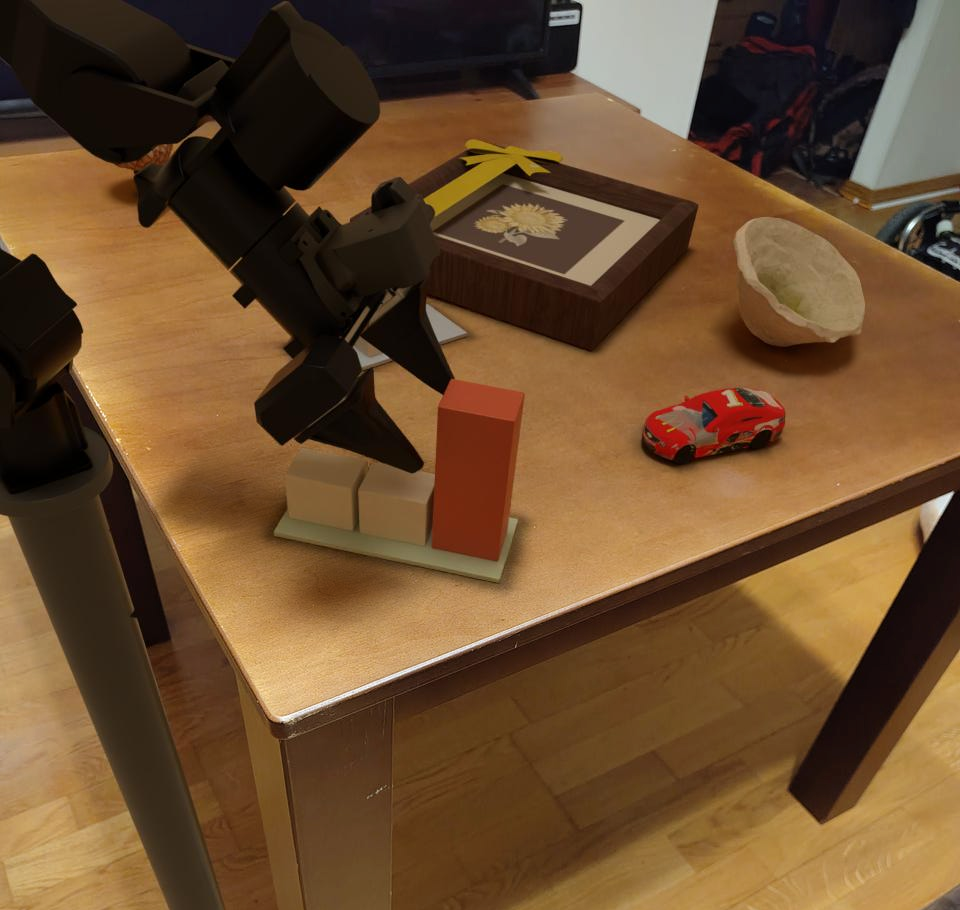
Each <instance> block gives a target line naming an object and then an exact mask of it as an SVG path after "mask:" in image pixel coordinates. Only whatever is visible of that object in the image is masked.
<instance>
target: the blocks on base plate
mask: <svg viewBox="0 0 960 910" xmlns="http://www.w3.org/2000/svg"><path fill="white" fill-rule="evenodd" d="M426 312H427V315H428V318H429V320H430V323H431V325H432V328H433V330H434V333H435V335H436V337H437V340H438V342H439V344H440V346H441V345H444V344H447V343H451V342H453V341H456V340H460V339H463V338H465V337H468V332H467V331H466V330H464V329H463V328H462V327H460V326H459V325H458V324H456V323H454V322H453V321H452V320H450V319H449V318H448V317H446V316H445V315H443V314H442V313H441V312H439V311H438V310H437V309H435V308H433V306H432V305H430V304H428V303H427V302H426ZM340 338H341V337H340ZM353 349H354V350H355V351H356V352H357V354H358V357H359V361H360V364H361V367H362V371H361V372H363V371H367V370H368V369H369V368H371V367H372V368H376V367H378V366H381V365H384V364H387V363H390V362H394V361H393V360H392V359H390V358H389V357H388V356H386V355H385V354H383V353H382V352H380V351H379V350H378V349H376V348H375V347H374V346H372V345H371V344H369V343H368V342H367V341H365V340H364V339H363V338H361V337H359V338H358V340H357V341H356V343H355V345H354V346H353Z"/></svg>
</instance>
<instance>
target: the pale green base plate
mask: <svg viewBox="0 0 960 910" xmlns="http://www.w3.org/2000/svg"><path fill="white" fill-rule="evenodd" d="M283 475H284V486H285V495H286V503H287V509H285V510H286V511H285V512H284V514H283V516H282V517H281V518H280V520H279V522H278V524H277V526H276V527H275V529H274V531H273V537H278V538H283V539H287V540H293V541H298V542H302V543H306V544H311V545H317V546H321V547H325V548H330V549H336V550H340V551H345V552H350V553H354V554H359V555H363V556H369V557H372V558H373V557H374V558H378V559H382V560H387V561H392V562H397V563H402V564H407V565H410V566H411V565H412V566H415V567H421V568H426V569H431V570H435V571H439V572H445V573H449V574H455V575H460V576H463V577H468V578H473V579H479V580H483V581H488V582H492V583H496V584H497V583H498V584H499V583H501V578H502V575H503V573H504V569H505V567H506V563H507V559H508V557H509V552H510V549H511V547H512V542H513V539H514V537H515V534H516V531H517V527H518V524H519V518H515V517H511V516H509V522H508V530H507V534H506V537H505V541H504V544H503V547H502V550H501V553H500V556H499V560H498V561H492V560H487V559H482V558H478V557H473V556H468V555H463V554H458V553H454V552H449V551H444V550H439V549H434V548H432V527H433V505H434V482H435V473H432V472H425V471H421V470H419V471H417V472H416V473H408V472H406V471H403V470H400V469H398V468H395V467H392V466H390V465H387V464H384V463H382V462H377V461H372V463H371V465H370V467H369V469H368V471H367V461H366V460H365V459H360V458H354V457H351V456H345V455H340V454H335V453H330V452H325V451H321V450H320V451H319V450H316V449H310V448H306V447H301V448H300V449H299V451H298V452H297V454H296V456H295V457H294V459H293V461H292V462H291V463H290V465H289V467H288V468H287V470H286V471H285V473H284V474H283Z"/></svg>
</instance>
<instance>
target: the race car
mask: <svg viewBox="0 0 960 910" xmlns="http://www.w3.org/2000/svg"><path fill="white" fill-rule="evenodd" d="M785 425H786V410H785V407H784V406H783V405H782V404H781V402H779V401H778V400H777V399H776V398H775V397H774V396H773V395H771V394H770V393H769V392H768V391H767V392H766V391H764V390H759V389H751V388H747V387H728V388H721V389H716V390H715V389H714V390H710V391H707V392H703V393H701V394H698V395H694V396H692V397H691V398H690V397H689V396H688V395H686V394H685V395H684V401H683V402H681V403H678V404H674V405H671V406H668V407H664V408H661V409H659V410H655V411H653V412H652V413H651V414H649V415H648V416H647V418H646V419H645V421H644V424H643V428H642V431H641V440H642V442H643V444H644V446H646V448H647V449H649V450H650V451H651V452H653V453H654V454H655V455H657V456H659V457H662V458H664V459H667V460H671V461H674V462H675V463H676V464H678V465H684V464H686V463H688V462H690V460H691V459H692V458H693V457H694V459H696V458H702V457H707V456H712V455H716V454H717V455H718V454H721V453H727V452H733V451H736V450H742V449H747V448H750V447H751V448H752V449H754V450H755V449H756V450H759V449H761V448H763V447H764V446H766V445H767V443H769V442H770V443H772V442H773V441H776V440H777V439H778V438H780V436H781V435H782V433H783V430H784V428H785Z"/></svg>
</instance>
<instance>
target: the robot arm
mask: <svg viewBox="0 0 960 910" xmlns="http://www.w3.org/2000/svg"><path fill="white" fill-rule="evenodd" d="M0 60H1V61H2V62H4V63H5V65H7V66H8V67H9V68H11V70H12V71H13V73H14V74H15V76H16V78H17V80H18V81H19V83H20V84H21V86H22V87H23V90H24V91H25V93H26V94H27V96H28V97H29V99H30V100H31V102H32V103H33V105H34V106H35V107H36V108H37V109H38V110H39V111H40V112H41V113H42V114H44V115H45V116H46V117H47V118H49V120H51V121H52V122H53V123H54V124H55V125H57V127H59V128H60V130H62V131H63V132H65V134H67V135H68V136H69V137H70V138H72V140H74V141H75V142H76V143H77V144H78V145H79V146H81V147H82V148H83V149H84V150H85V151H87V152H88V153H89V154H91V155H92V156H93V157H96V158H98V159H99V160H102V161H104V162H106V163H109V164H113V165H115V164H117V165H119V164H121V163H128V162H133V161H137V160H140V159H141V158H143V157H144V156H145V155H147V154H148V153H149V152H151V151H152V150H154V149H155V148H156V147H158V146H159V145H165V144H173V145H177V144H179V146H178V147H177V148H176V150H175V151H174V152H173V153H171V155H170V158H169V159H168V161H167V162H166V163H165V164H164V165H159V164H155V163H150V164H148V165H147V166H146V167H144V168H143V169H142V170H140V171H139V172H138V173H136V174H134V175H133V178H132V179H133V183H134V185H135V188H136V193H137V206H136V207H137V219H138V220H137V221H138V223H139V225H140V226H141V227H142V228H146V229H149V228H151V227H152V226H153V225H154V224H155V223H157V222H158V221H159V220H160V219H161V218H163V217H164V216H165V215H166V214H167V213H169V212H170V211H171V212H172V213H173V214H174V215H175V216H176V217H177V218H178V219H179V221H180V222H181V223H182V224H184V226H185V227H186V228H187V229H188V230H189V231H190V232H191V233H192V235H194V236H195V238H197V239H198V241H200V242H201V243H202V244H203V246H204V247H205V248H206V249H207V250H208V251H209V252H210V254H212V255H213V256H214V257H215V259H217V261H219V263H220V264H221V265H222V266H223V267H224V268H225V269H226V270H227V271H228V272H229V273H230V274H231V275H232V276H233V277H234V278H235V280H236V281H237V282H239V284H240V286H239V287H238V289H236V290H235V292H234V293H233V294H232V295H231V297H232V298H233V299H234V300H235V301H236V302H237V303H238V304H239V305H240V306H241V307H242V308H243V309H244V310H245V309H246V308H247V307H248V306H249V305H251V303H253V302H254V301H256V303H258V305H260V306H261V307H262V308H263V309H264V310H265V311H266V312H267V314H268V315H269V316H270V317H271V318H272V319H273V320H274V321H275V322H276V323H277V324H278V325H279V326H280V327H281V328H282V329H283V331H285V332H286V334H287V335H289V337H290V338H289V340H288V341H287V342H286V343H285V345H284V346H283V347H282V350H283V351H284V352H285V353H286V354H287V355H288V356H289V357H290V358H291V360H290V361H289V362H287V363H286V364H285V365H284V366H282V367H281V368H280V369H279V370H278V371H277V372H275V374H274V375H273V377H272V378H271V379H270V380H269V382H268V383H267V384H266V386H265V388H264V389H263V390H262V391H261V393H260V394H259V396H258V397H257V398H256V400H255V401H254V402H253V406H254V412H255V420H256V424H258V425H259V427H260V428H262V429H263V430H264V431H265V432H266V433H267V434H268V435H269V436H270V437H271V438H272V439H273V440H274V441H275V442H276V443H277V444H278V445H279V446H281V447H283V446H285V445H286V444H287V443H288V442H290V441H291V440H294V441H295V442H296V443H298V444H299V445H303V444H304V443H305V442H306V441H308V440H310V441H313V442H317V443H320V444H324V445H328V446H331V447H335V448H338V449H342V450H345V451H349V452H352V453H354V454H357V455H360V456H363V457H366V458H369V459H371V460H373V461H375V462H378V463H381V464H386V465H390V466H392V467H395V468H398V469H400V470H403V471H406V472H408V473H416V472H417V471H421V470H422V469H423V468H424V466H425V462H424V461H425V460H423V458H422V457H421V455H420V454H419V452H418V451H417V449H416V448H415V446H414V445H413V444H412V442H411V441H410V440H409V439H408V438H407V436H406V434H405V433H404V432H403V431H402V430H401V428H400V427H399V426H398V425H397V424H396V422H395V421H394V420H393V418H392V417H391V416H390V415H389V414H388V413H387V411H386V410H385V408H383V406H382V405H381V404H380V402H379V401H378V400H377V397H376V388H375V371H374V367H371V368H369V369H366V370H364V372H363V371H362V367H361V364H360V361H359V357H358V354H357V352H356V351H355V350H354V349H353V346H354V345H355V343H356V341H357V340H358V338H359V337H361V338H363V339H364V340H365V341H367V342H368V343H369V344H371V345H372V346H374V347H375V348H376V349H378V350H379V351H380V352H382V353H383V354H385V355H386V356H388V357H389V358H390V359H392V360H393V361H392V362H395V363H396V364H397V365H399V366H400V367H401V368H402V369H404V370H405V371H407V372H408V373H410V374H411V375H412V376H414V377H415V378H416V379H418V380H419V381H420V382H422V383H423V384H424V385H426V386H427V387H429V388H430V389H431V390H434V391H435V392H437V393H438V394H440V395H441V396H443V395H444V393H445V391H446V389H447V386H448V384H449V382H450V380H451V379H456V377H455V376H454V373H453V371H452V369H451V367H450V363H448V360H447V358H446V356H445V353H444V351H443V348H442V346H441V345H440V344H439V342H438V340H437V337H436V335H435V333H434V330H433V328H432V325H431V323H430V320H429V318H428V315H427V312H426V303H427V299H428V298H427V297H428V294H427V289H428V283H429V281H430V274H429V266H430V265H431V263H432V261H433V260H434V258H438V257H439V255H440V253H441V252H440V249H439V247H438V244H437V241H436V239H435V236H434V234H433V231H432V229H431V226H430V223H431V221H432V220H433V218H434V216H435V210H434V208H433V207H432V206H431V205H429V204H426V203H425V201H424V199H423V197H422V194H417V193H416V192H415V191H414V190H413V189H412V188H411V187H410V186H409V185H408V184H409V183H407V182H406V181H405V179H404V178H402V176H396V177H394V178H392V179H388V180H384V181H382V182H380V184H378V186H376V188H375V190H374V191H373V192H372V193H371V197H370V206H371V214H369V213H368V211H367V212H364V213H362V214H361V216H360V217H359V218H358V219H356V220H354V221H351V222H350V221H349V222H347V223H344V224H342V223H340V221H339V220H338V219H336V217H335V216H334V215H333V214H332V213H331V212H330V211H329V210H328V209H325V208H324V209H323V208H322V207H321V206H319V205H318V206H317V208H316V209H315V210H314V211H313V212H312V213H311V214H308V212H307V211H306V210H305V209H304V208H303V206H301V205H300V204H299V202H298V201H297V200H296V199H295V197H293V195H292V194H291V193H290V192H289V191H288V190H287V188H288V189H291V190H293V191H300V192H303V191H307V190H309V189H311V188H312V187H313V186H314V185H315V184H316V183H317V182H318V181H319V180H320V179H321V178H322V177H323V176H324V175H326V173H327V172H328V171H329V170H330V169H331V168H332V167H333V166H335V164H336V163H337V162H338V161H339V160H340V159H341V158H342V157H343V156H344V155H345V154H346V153H347V152H348V151H349V150H350V149H351V148H352V147H353V146H354V145H355V144H356V143H357V142H358V141H359V140H360V139H361V137H363V135H365V134H366V133H367V132H368V131H369V130H370V129H371V128H372V127H373V126H374V124H376V123H377V122H378V121H379V119H380V115H381V103H380V99H379V95H378V92H377V90H376V88H375V85H374V82H373V81H372V78H371V77H370V75H369V74H368V72H367V70H366V69H365V67H364V66H363V64H362V62H361V61H360V60H359V58H358V57H357V56H356V54H355V53H354V51H353V50H351V48H350V47H349V46H347V45H342V44H341V43H340V42H339V41H338V40H337V39H336V38H335V37H334V36H333V35H331V34H330V33H329V32H328V31H327V30H326V29H324V28H322V27H321V26H319V25H318V24H316V23H314V22H311V21H308V20H306V19H303V17H302V16H301V14H300V13H299V12H298V11H297V10H296V9H295V7H294V6H293V4H292V3H291V2H290V1H289V0H283V1H282V2H279V3H278V4H277V5H275V6H273V7H272V8H270V9H269V10H268V11H267V12H266V14H265V15H264V17H262V19H261V20H260V21H259V22H258V24H257V26H256V27H255V29H254V32H253V34H252V37H251V39H250V41H249V42H248V44H247V45H246V46H245V48H244V49H243V50H242V51H241V53H239V55H238V56H237V57H236V59H235V58H234V57H233V58H232V57H230V56H226V55H223V54H220V53H217V52H214V51H211V50H208V49H204V48H200V47H198V46H196V45H192V44H189V43H186V42H185V40H184V39H183V38H182V37H181V35H180V34H178V33H177V31H175V30H174V29H173V28H172V27H171V26H170V25H168V24H166V23H165V22H163V21H162V20H160V19H158V18H156V17H154V16H153V15H151V14H149V13H147V12H145V11H143V10H141V9H139V8H137V7H135V6H134V5H131V4H129V3H128V2H125V1H124V0H0ZM211 119H213V120H214V121H215V122H216V123H217V124H218V126H219V127H220V128H219V129H218V130H217V132H216V133H215V134H214V136H212V138H210V137H208V136H207V137H206V136H202V135H194V136H191V135H192V134H193V133H194V132H196V131H197V130H199V128H201V127H202V126H204V125H205V124H206V123H208V122H209V121H211ZM180 143H181V144H180ZM77 306H78V303H77V302H76V301H75V300H74V299H73V298H71V296H70V295H68V294H67V293H66V292H65V291H64V289H63V288H62V287H61V286H60V284H59V283H58V282H57V279H55V277H54V276H53V274H52V272H51V271H50V268H49V267H48V265H47V264H46V262H45V261H44V259H42V258H41V257H39V255H37V254H36V253H30V254H29V255H27V256H26V257H25V258H23V259H20V258H18V257H16V256H15V255H13V254H11V253H9V252H7V251H6V250H4V249H2V248H0V481H1V483H2V484H3V486H4V487H5V489H6V490H7V492H8V493H9V494H18V493H21V492H23V491H26V490H29V489H32V488H35V487H38V486H41V485H44V484H47V483H50V482H53V481H56V480H59V479H62V478H65V477H68V476H71V475H74V474H77V473H80V472H83V471H86V470H89V469H91V468H92V467H93V464H92V460H91V459H90V458H89V456H88V455H87V454H86V453H85V451H84V450H85V449H87V448H88V446H89V445H88V442H87V439H86V435H85V432H84V429H83V427H84V425H83V422H82V419H81V415H80V412H79V408H78V405H77V404H76V402H75V401H74V400H73V399H72V397H71V396H70V395H69V394H68V393H67V391H66V390H65V389H64V388H63V386H62V385H61V384H60V383H59V380H60V379H61V378H63V377H64V376H65V375H66V374H68V373H70V372H71V371H72V370H73V365H74V358H75V357H76V356H77V355H79V352H80V351H81V348H82V346H83V345H82V343H83V341H82V340H83V334H84V328H83V325H82V323H81V320H80V319H79V317H78V315H77V313H76V311H75V310H74V309H75V308H76V307H77ZM340 337H341V338H340ZM361 373H362V374H361Z"/></svg>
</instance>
